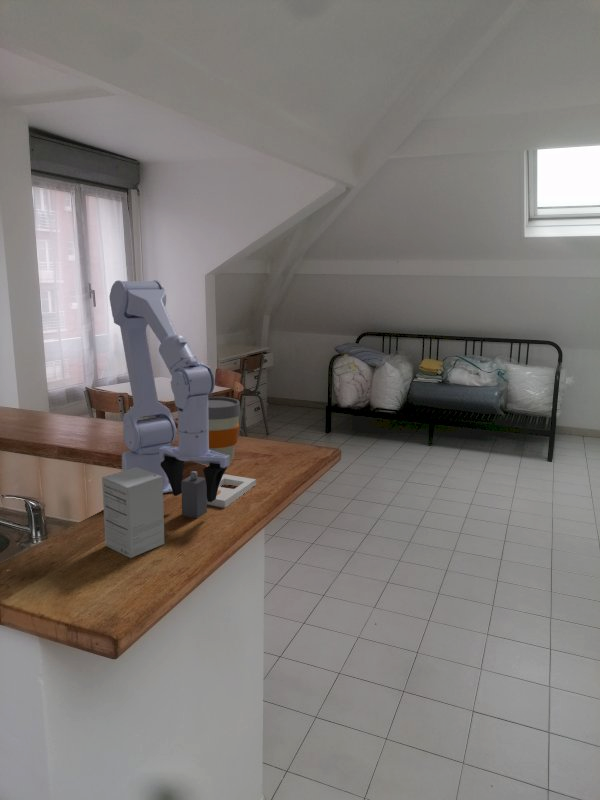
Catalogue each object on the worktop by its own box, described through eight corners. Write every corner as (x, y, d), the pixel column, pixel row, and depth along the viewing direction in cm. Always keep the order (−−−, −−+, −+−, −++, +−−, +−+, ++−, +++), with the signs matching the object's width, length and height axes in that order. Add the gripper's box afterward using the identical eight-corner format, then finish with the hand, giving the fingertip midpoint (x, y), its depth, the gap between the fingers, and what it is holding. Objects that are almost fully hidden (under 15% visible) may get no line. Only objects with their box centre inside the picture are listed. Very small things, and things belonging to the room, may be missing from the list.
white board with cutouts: (224, 507, 125) (224, 497, 125) (190, 501, 128) (190, 491, 128) (255, 485, 138) (255, 476, 138) (223, 480, 141) (223, 471, 141)
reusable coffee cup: (246, 466, 151) (247, 406, 148) (195, 472, 146) (194, 409, 143) (232, 451, 162) (232, 395, 159) (184, 456, 158) (183, 398, 154)
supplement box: (139, 532, 113) (137, 466, 111) (165, 544, 109) (164, 475, 106) (103, 546, 108) (100, 476, 105) (129, 559, 103) (127, 486, 100)
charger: (197, 518, 120) (196, 476, 118) (181, 515, 121) (181, 473, 120) (206, 511, 123) (206, 470, 122) (191, 508, 125) (190, 468, 123)
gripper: (148, 429, 118) (150, 498, 121) (216, 439, 112) (217, 510, 115) (170, 421, 124) (171, 486, 127) (234, 430, 119) (235, 497, 122)
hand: (194, 497), depth 122 cm, fingers open, 7 cm apart
